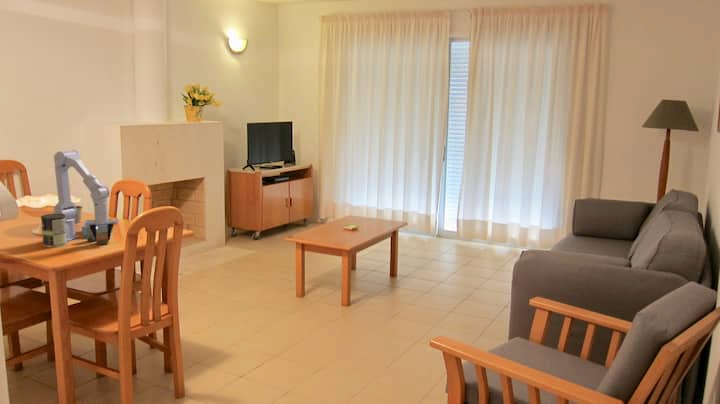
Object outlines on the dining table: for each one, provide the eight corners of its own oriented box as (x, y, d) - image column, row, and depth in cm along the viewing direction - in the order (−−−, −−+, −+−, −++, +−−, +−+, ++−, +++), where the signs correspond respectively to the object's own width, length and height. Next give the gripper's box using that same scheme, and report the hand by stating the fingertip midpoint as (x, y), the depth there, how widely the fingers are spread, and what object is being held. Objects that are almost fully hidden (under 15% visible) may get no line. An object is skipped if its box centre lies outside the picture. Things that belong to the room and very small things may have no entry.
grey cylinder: (98, 241, 284) (97, 227, 282) (87, 242, 282) (86, 228, 281) (99, 239, 288) (98, 225, 287) (88, 240, 287) (87, 226, 285)
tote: (110, 236, 295) (110, 225, 294) (82, 237, 291) (81, 226, 290) (113, 228, 311) (112, 218, 310) (86, 230, 307) (85, 220, 306)
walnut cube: (108, 243, 279) (107, 233, 278) (96, 244, 277) (96, 234, 276) (108, 241, 283) (108, 231, 282) (97, 241, 282) (97, 231, 281)
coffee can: (41, 248, 270) (39, 218, 268) (44, 242, 279) (42, 214, 277) (66, 246, 274) (64, 217, 271) (68, 241, 283) (66, 213, 281)
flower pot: (87, 221, 329) (86, 206, 327) (75, 224, 320) (74, 209, 318) (73, 220, 331) (72, 205, 330) (61, 223, 322) (60, 208, 321)
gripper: (83, 214, 271) (85, 242, 274) (116, 213, 276) (118, 240, 278) (85, 211, 278) (86, 239, 280) (117, 210, 283) (119, 237, 285)
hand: (102, 239), depth 280 cm, fingers closed on walnut cube, 5 cm apart
